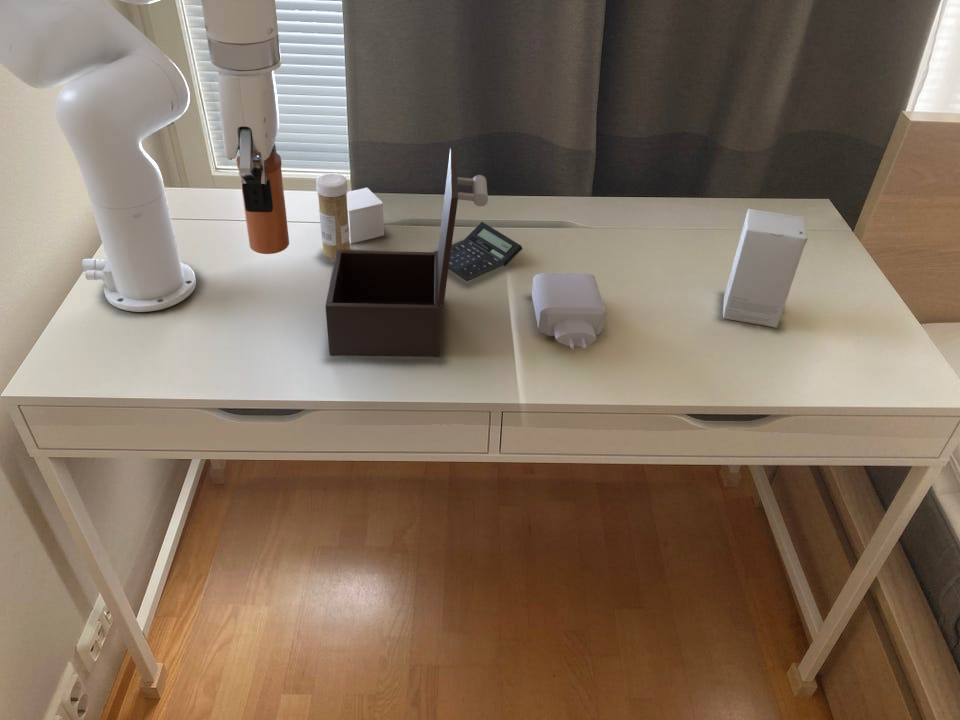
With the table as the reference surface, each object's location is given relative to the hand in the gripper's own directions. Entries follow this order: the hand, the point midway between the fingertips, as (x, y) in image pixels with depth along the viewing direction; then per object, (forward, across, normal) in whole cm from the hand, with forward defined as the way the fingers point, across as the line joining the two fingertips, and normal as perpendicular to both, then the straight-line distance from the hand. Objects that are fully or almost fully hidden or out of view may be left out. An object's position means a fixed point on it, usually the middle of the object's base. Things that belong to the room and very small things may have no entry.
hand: (263, 198), depth 99 cm
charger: (+20, -1, +41) cm, 46 cm away
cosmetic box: (+20, -6, +69) cm, 72 cm away
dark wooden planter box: (+20, 0, +15) cm, 25 cm away
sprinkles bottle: (+20, -19, +6) cm, 28 cm away
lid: (+3, 0, +22) cm, 23 cm away
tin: (+7, 0, 0) cm, 7 cm away
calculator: (+20, -19, +28) cm, 39 cm away
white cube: (+20, -27, +9) cm, 35 cm away
